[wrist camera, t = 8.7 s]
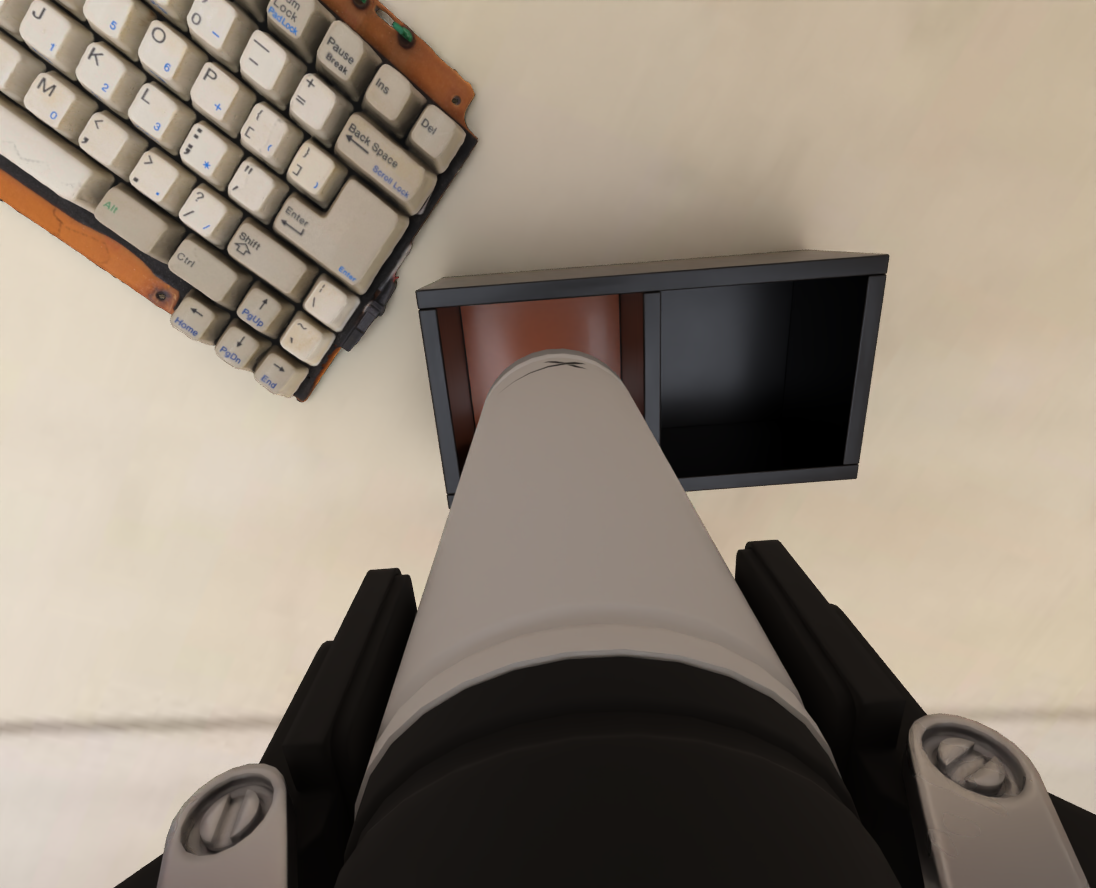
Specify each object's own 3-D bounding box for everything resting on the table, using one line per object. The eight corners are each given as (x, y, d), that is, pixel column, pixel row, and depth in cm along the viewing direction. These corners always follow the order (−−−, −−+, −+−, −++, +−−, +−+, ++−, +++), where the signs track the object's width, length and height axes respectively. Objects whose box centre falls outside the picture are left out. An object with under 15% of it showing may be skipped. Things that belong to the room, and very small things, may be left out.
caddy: (442, 277, 30) (414, 290, 23) (806, 249, 30) (890, 253, 23) (466, 452, 34) (448, 510, 27) (789, 428, 34) (857, 479, 27)
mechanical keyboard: (-458, -104, 23) (-613, -157, 20) (-387, -674, 18) (-579, -863, 15) (322, 407, 32) (299, 425, 29) (511, 119, 27) (509, 104, 24)
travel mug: (534, 309, 21) (499, 943, 2) (664, 407, 22) (1289, 1274, 4) (446, 432, 23) (9, 1366, 4) (571, 515, 24) (681, 1473, 5)
